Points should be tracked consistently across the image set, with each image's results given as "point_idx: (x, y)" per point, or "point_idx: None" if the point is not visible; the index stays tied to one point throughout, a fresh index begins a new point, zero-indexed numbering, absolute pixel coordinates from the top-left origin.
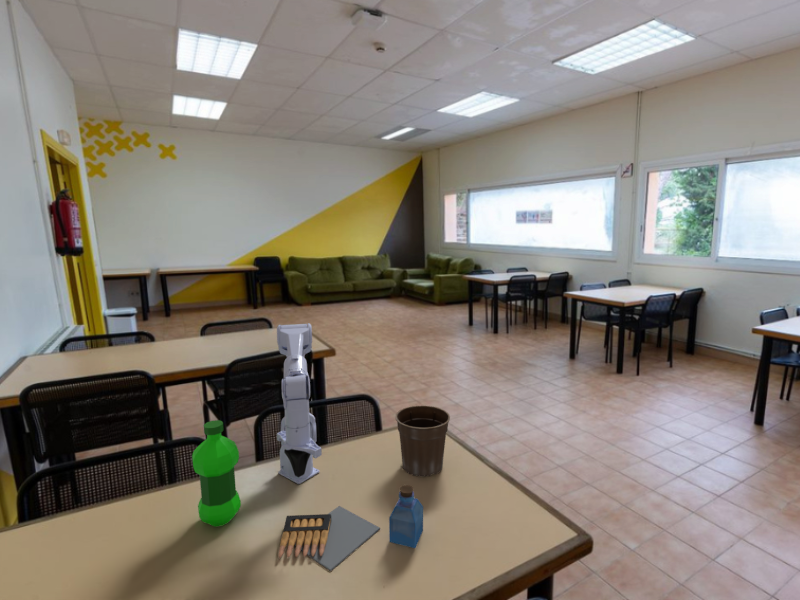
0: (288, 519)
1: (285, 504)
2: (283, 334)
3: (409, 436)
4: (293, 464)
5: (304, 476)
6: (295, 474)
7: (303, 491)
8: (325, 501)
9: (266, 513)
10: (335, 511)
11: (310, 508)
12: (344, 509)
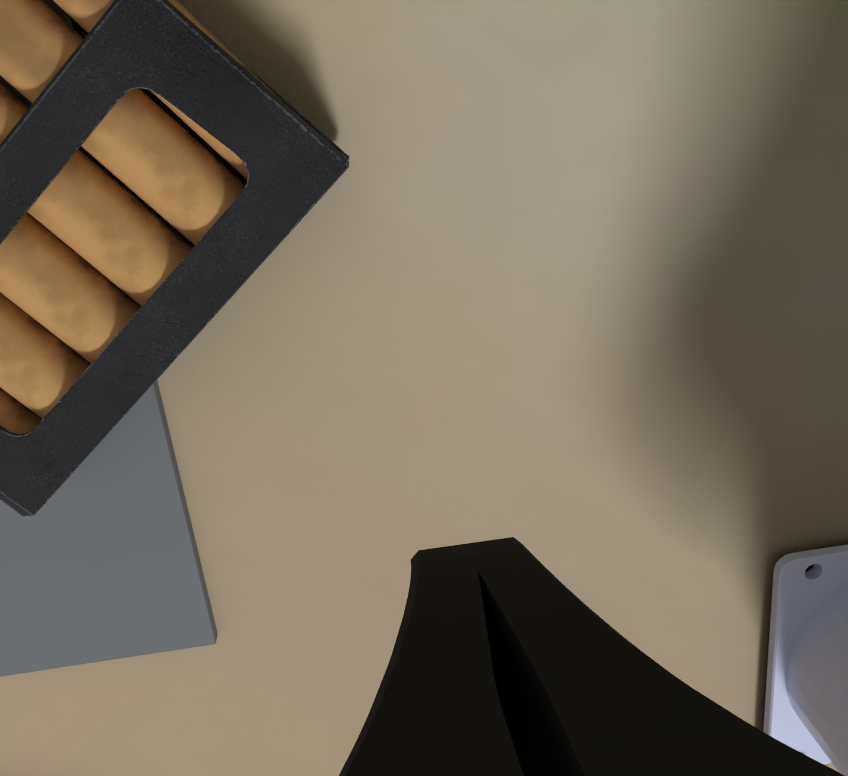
0: (279, 142)
1: (635, 315)
2: None
3: None
4: (549, 700)
5: (805, 646)
6: (487, 554)
7: (659, 534)
8: (381, 594)
9: (671, 96)
10: (168, 580)
11: (396, 451)
12: (134, 647)
